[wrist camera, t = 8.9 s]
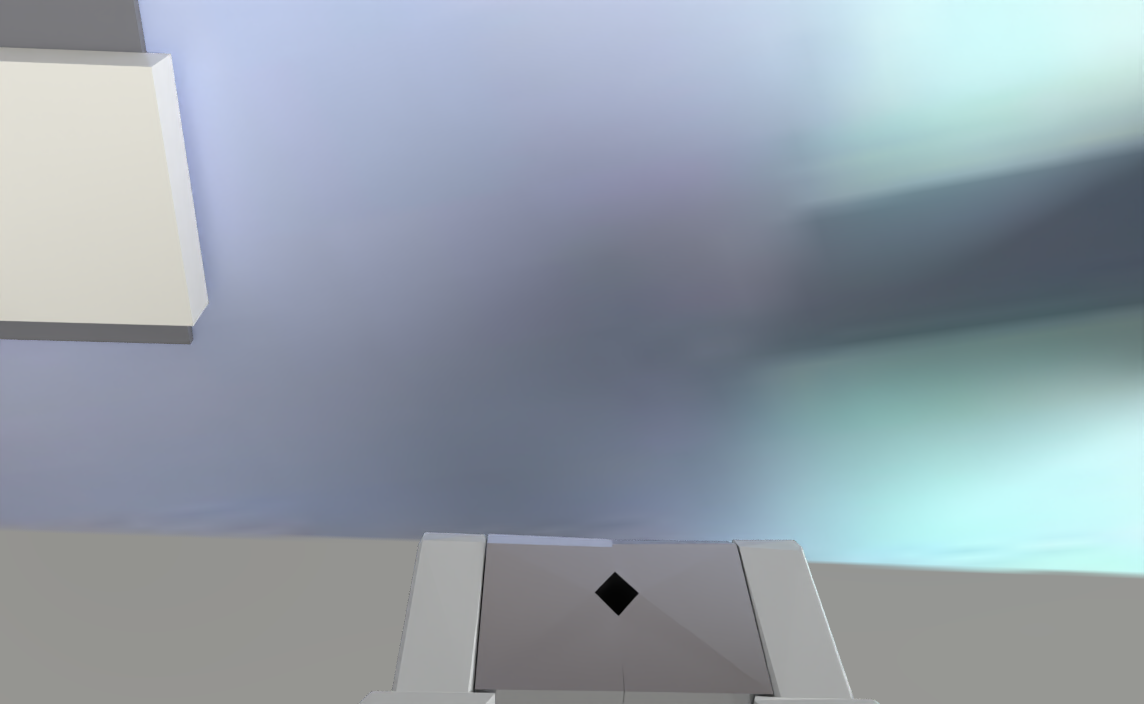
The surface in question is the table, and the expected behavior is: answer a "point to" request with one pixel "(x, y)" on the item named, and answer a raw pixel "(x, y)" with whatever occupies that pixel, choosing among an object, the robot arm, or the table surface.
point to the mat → (94, 23)
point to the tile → (95, 191)
